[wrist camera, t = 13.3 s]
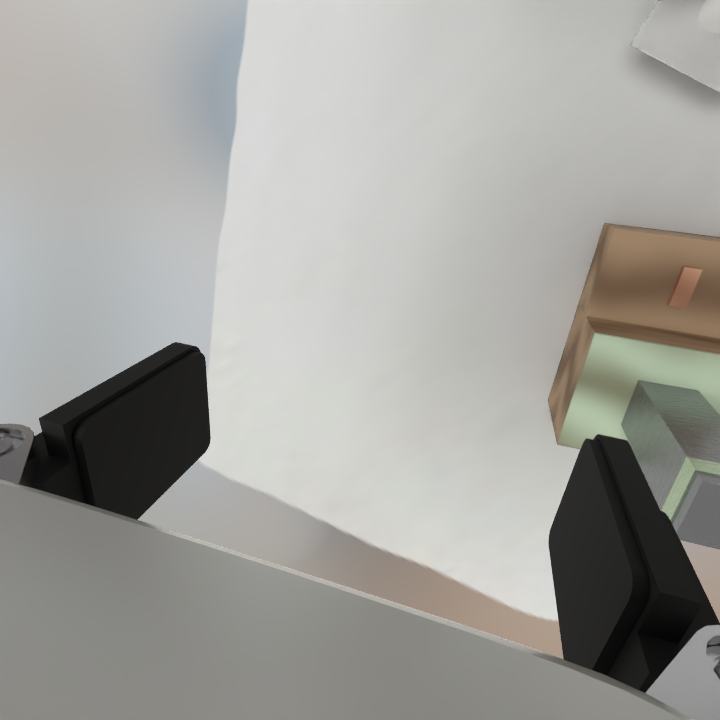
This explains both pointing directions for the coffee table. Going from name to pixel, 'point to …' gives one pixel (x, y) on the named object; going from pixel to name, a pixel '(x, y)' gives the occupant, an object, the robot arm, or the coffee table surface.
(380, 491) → the coffee table surface
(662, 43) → the figurine
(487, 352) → the coffee table surface
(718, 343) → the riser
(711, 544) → the column
